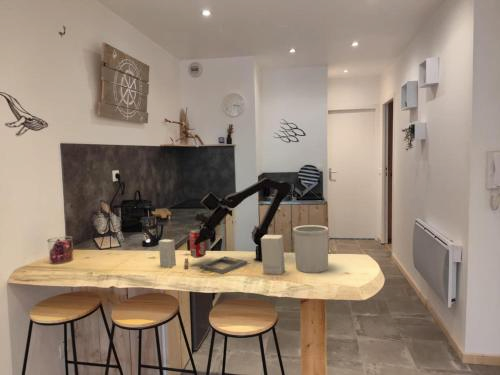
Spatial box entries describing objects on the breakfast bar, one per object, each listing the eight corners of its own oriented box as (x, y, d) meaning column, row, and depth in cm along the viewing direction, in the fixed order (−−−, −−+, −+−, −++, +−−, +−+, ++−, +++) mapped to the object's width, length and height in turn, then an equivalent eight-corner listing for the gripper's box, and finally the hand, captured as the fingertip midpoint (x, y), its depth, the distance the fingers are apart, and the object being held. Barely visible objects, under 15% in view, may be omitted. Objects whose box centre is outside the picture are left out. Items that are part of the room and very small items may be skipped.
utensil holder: (288, 265, 162) (287, 226, 160) (317, 260, 167) (316, 223, 165) (305, 275, 148) (304, 233, 146) (336, 270, 154) (335, 229, 152)
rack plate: (247, 264, 166) (247, 260, 166) (222, 274, 154) (222, 270, 154) (225, 259, 175) (225, 255, 175) (200, 268, 163) (200, 264, 163)
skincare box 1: (176, 265, 169) (174, 239, 168) (170, 267, 165) (169, 241, 164) (165, 263, 172) (164, 238, 170) (159, 266, 168) (158, 241, 166)
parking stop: (185, 262, 172) (184, 258, 172) (188, 262, 172) (188, 258, 172) (184, 269, 162) (184, 264, 162) (187, 269, 162) (187, 264, 162)
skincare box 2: (285, 270, 155) (284, 234, 154) (281, 275, 149) (280, 238, 148) (266, 269, 158) (265, 234, 157) (261, 274, 152) (260, 237, 150)
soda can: (207, 254, 171) (206, 229, 170) (204, 258, 164) (202, 232, 163) (192, 254, 171) (191, 229, 170) (188, 258, 164) (187, 232, 163)
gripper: (203, 203, 175) (181, 227, 175) (204, 208, 157) (180, 235, 156) (220, 217, 177) (199, 242, 176) (223, 225, 159) (199, 252, 158)
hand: (194, 242), depth 167 cm, fingers closed on soda can, 7 cm apart
